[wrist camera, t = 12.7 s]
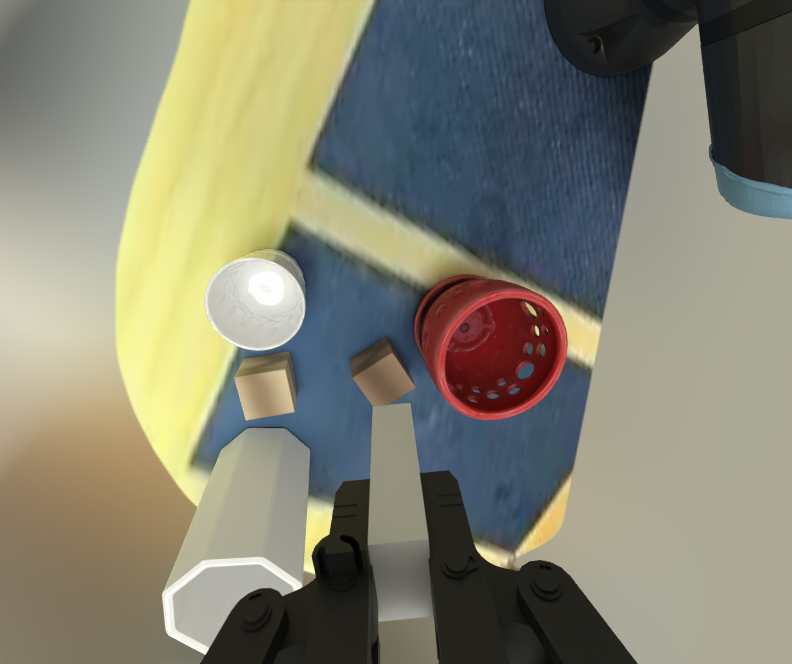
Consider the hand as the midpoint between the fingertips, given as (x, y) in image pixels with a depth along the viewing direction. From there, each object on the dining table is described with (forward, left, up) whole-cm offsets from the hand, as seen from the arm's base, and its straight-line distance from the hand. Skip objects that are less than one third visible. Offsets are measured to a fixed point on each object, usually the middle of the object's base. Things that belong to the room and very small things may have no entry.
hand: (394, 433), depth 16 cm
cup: (+17, +18, -29) cm, 39 cm away
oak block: (+12, +7, -29) cm, 32 cm away
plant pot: (-11, +8, -29) cm, 33 cm away
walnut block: (0, +10, -29) cm, 31 cm away
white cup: (+8, -3, -29) cm, 31 cm away
